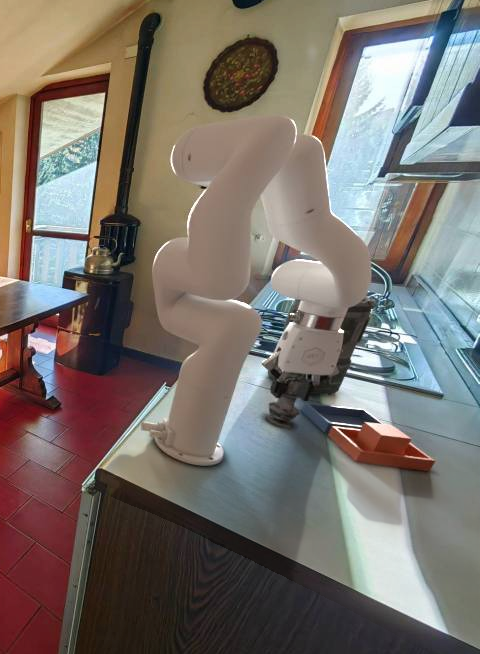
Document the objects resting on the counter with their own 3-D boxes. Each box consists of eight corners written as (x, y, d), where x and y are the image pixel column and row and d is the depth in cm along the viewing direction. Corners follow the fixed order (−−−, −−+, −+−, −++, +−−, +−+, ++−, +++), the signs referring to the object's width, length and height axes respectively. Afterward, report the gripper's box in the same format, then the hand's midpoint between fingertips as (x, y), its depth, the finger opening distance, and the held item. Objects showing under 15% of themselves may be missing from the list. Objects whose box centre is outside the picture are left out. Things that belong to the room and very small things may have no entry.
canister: (259, 381, 110) (293, 284, 99) (273, 366, 120) (306, 276, 109) (332, 403, 99) (379, 296, 88) (341, 385, 109) (385, 286, 98)
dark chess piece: (300, 430, 88) (319, 382, 83) (271, 426, 89) (288, 379, 84) (286, 416, 93) (303, 371, 88) (258, 413, 94) (274, 368, 89)
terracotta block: (371, 455, 79) (381, 435, 77) (354, 441, 83) (364, 421, 81) (400, 459, 78) (412, 438, 76) (382, 444, 82) (392, 425, 80)
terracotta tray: (355, 461, 78) (361, 451, 77) (327, 435, 86) (332, 425, 85) (429, 471, 75) (435, 461, 74) (393, 443, 84) (398, 433, 83)
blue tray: (324, 432, 87) (328, 423, 86) (301, 411, 95) (305, 402, 94) (389, 440, 85) (394, 430, 84) (359, 418, 93) (364, 409, 92)
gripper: (280, 322, 80) (253, 400, 87) (378, 330, 76) (342, 410, 83) (263, 312, 86) (240, 385, 93) (352, 318, 83) (321, 393, 90)
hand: (288, 396), depth 88 cm, fingers open, 4 cm apart
